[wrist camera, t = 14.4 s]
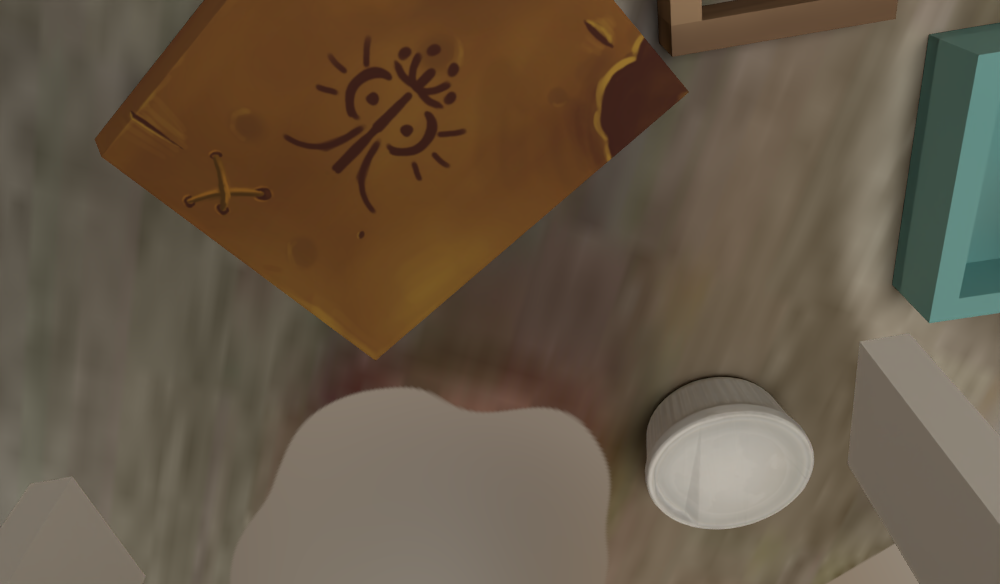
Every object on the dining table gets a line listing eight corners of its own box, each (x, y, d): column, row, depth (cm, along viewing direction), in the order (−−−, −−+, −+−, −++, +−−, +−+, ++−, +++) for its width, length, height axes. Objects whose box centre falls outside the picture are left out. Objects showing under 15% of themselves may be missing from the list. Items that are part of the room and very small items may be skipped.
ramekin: (604, 414, 53) (616, 467, 48) (740, 334, 49) (767, 383, 45) (682, 497, 58) (699, 552, 53) (811, 430, 54) (841, 482, 50)
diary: (412, -242, 33) (403, -258, 28) (662, 61, 40) (689, 91, 35) (131, 110, 40) (84, 147, 35) (384, 309, 48) (375, 362, 43)
